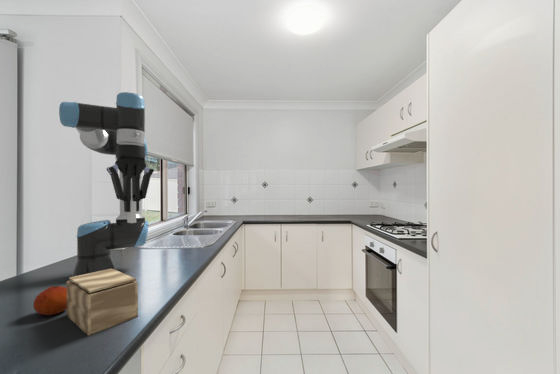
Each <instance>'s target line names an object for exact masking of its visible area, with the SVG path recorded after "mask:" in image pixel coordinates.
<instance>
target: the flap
mask: <svg viewBox="0 0 560 374" xmlns="http://www.w3.org/2000/svg"><path fill="white" fill-rule="evenodd" d="M68 281H72V282H74V283H75V284H77V285H78V286H80V287H81V288H83V289H84V290H86V291H87V292H89V293H92V292H95V291H99V290H103V289H107V288H110V287H114V286H118V285H122V284H126V283H129V282H133V281H137V279H136V278H135V277H132V276H130V275H128V274H126V273H123V272H121V271H119V270H117V269H115V270H114V269H107V270H102V271H98V272H93V273H88V274H84V275H79V276H74V277H72V276H71V277H69V279H68Z"/></svg>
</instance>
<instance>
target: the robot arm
mask: <svg viewBox="0 0 560 374" xmlns="http://www.w3.org/2000/svg"><path fill="white" fill-rule="evenodd" d="M115 105H116V107H111V106H103V105H98V104H97V105H96V104H89V103H82V102H76V101H73V102H72V101H62V102H61V103H60V104H59V110H58V111H59V112H58V114H59V122H60V124H61V125H62V126H64V127H68V128H71V129H74V128H75V129H76V130H77V132H78V134H79V139H80V142H81V143H82V144H83V145H84V146H85V147H86V148H87V149H88V150H89V149H90V150H91V151H93V152H96V153H99V154H104V155H108V156H109V155H112V156H115V163H114V164H113V165H112V166H108V167H106V171H107V173H108V174H109V175H110V179H111V182H112V186H113V189H114V193H115V196H116V199H117V200H119V216H117V217H116V218H115V222H111V220H110V219H105V220H99V221H98V220H96V221H92V222H88V223H87V222H86V223H83V224H80V225H79V226H78V227H77V233H76V234H77V235H76V243H77V245H76V246H77V248H76V249H77V250H76V251H77V252H76V253H77V254H76V255H77V260H76V263H75V265H74V269H73V271H72V273H71V277H74V276H79V275H84V274H88V273H93V272H98V271H102V270H107V269H114V270H116V266H115V264H114V261H113V259H112V256H111V251H112V250H118V249H119V250H122V249H129V248H137V247H142V246H143V247H144V245H145V244H146V243H147V239H148V234H149V233H148V232H149V221H148V220H146V216H145V215H143V214H142V200H143V199H146V197H147V193H148V189H149V185H150V180H151V177H152V175H153V173H154V172H155V170H154V169H153V168H150V167H149V166H147V163H146V157H148V154H149V153H148V145H147V139H146V135H145V133H146V132H145V131H146V129H145V125H146V123H145V122H146V121H145V120H146V117H145V116H146V115H145V109H146V105H145V98H144V97H143V96H142V95H140V94H137V93H135V92H130V91H129V92H128V91H127V92H126V91H125V92H124V91H123V92H119V93H117V95H116V102H115ZM118 172H119V173H118ZM142 173H143V175H142V176H141V174H142ZM141 178H142V179H141Z"/></svg>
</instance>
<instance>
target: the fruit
mask: <svg viewBox="0 0 560 374" xmlns="http://www.w3.org/2000/svg"><path fill="white" fill-rule="evenodd" d="M33 309H34V311H35V312H37V313H38V314H40V315H43V316H54V315H58V314H61V313H63V312H64V311H65V310H67V286H66V287H65V286H61V285H52V286H49V287H47V288H46V289H44V290H43V291H41V292H39V294H38V295H36V297H35V299H34V301H33Z"/></svg>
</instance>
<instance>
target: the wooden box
mask: <svg viewBox="0 0 560 374" xmlns="http://www.w3.org/2000/svg"><path fill="white" fill-rule="evenodd" d="M138 285H139V283H138V281H137V280H136V281H133V282H129V283H126V284H122V285H118V286H114V287H110V288H107V289H103V290H99V291H95V292H92V293H89V292H87V291H86V290H84V289H83V288H81V287H80V286H78V285H77V284H75V283H74V282H72V281H71V280H67V281H66V288H67V309H66V317H67V318H69V319H70V320H71V321H72V322H73V323H74V324H75V325H76V326H77V327H78V328H79V329H80V330H81V331H82V332H83V333H84V334H86V335H87V336H88V337H89V336H91V335H94V334H97V333H99V332H102V331H105V330H107V329H109V328H112V327H115V326H118V325H121V324H123V323H125V322H128V321H131V320H133V319H136V318H139V312H138V311H139V303H138V302H139V300H138V299H139V294H138V291H139V290H138V289H139V287H138Z"/></svg>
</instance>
